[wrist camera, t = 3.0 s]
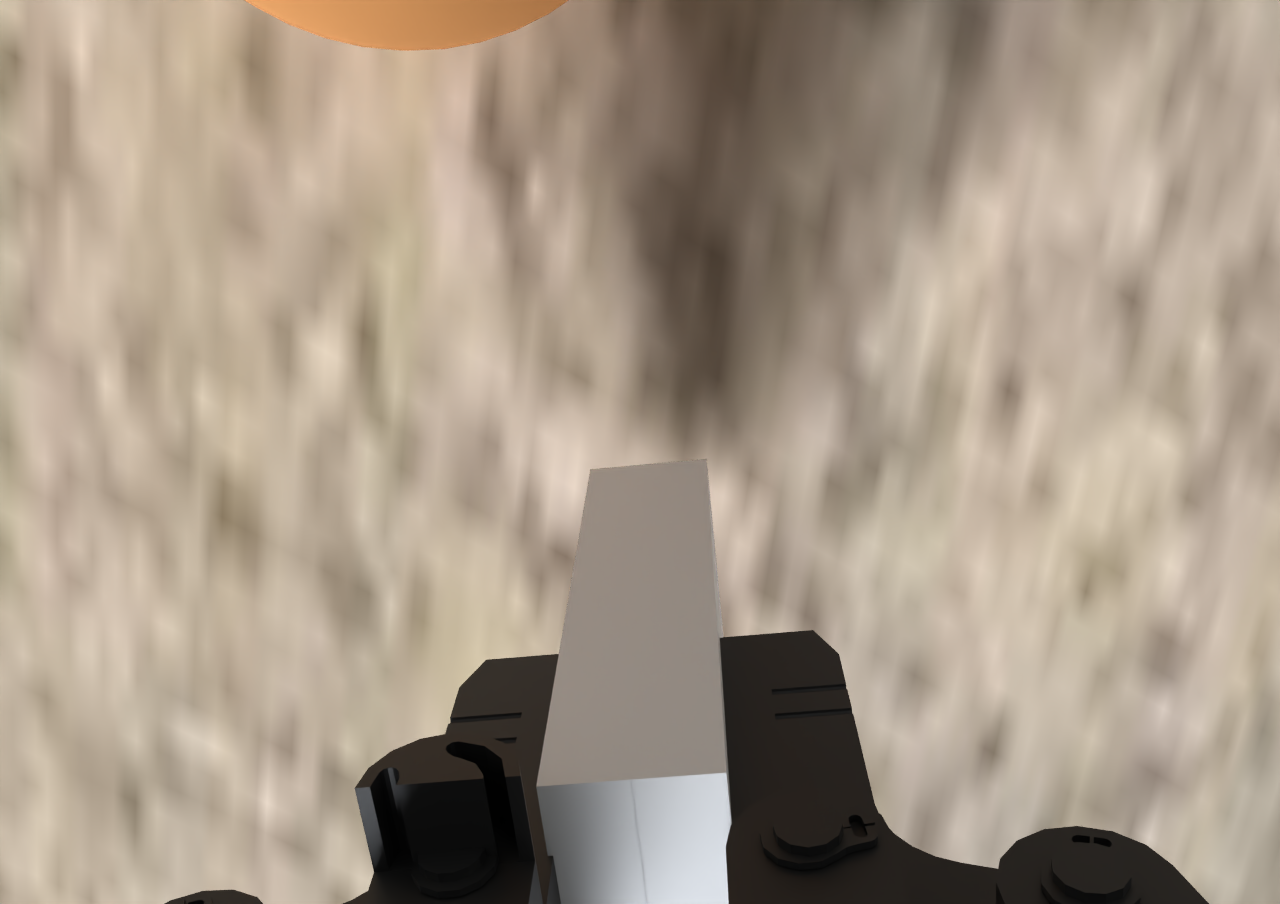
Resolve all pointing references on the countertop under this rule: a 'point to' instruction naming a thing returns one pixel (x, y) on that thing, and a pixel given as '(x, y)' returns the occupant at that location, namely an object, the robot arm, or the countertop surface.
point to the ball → (408, 20)
